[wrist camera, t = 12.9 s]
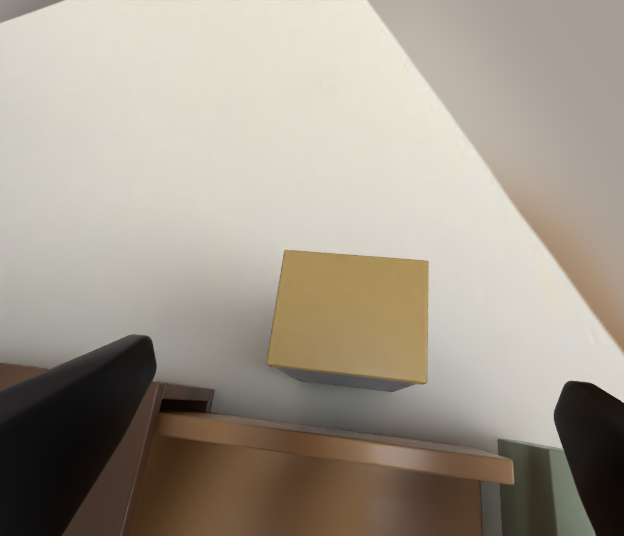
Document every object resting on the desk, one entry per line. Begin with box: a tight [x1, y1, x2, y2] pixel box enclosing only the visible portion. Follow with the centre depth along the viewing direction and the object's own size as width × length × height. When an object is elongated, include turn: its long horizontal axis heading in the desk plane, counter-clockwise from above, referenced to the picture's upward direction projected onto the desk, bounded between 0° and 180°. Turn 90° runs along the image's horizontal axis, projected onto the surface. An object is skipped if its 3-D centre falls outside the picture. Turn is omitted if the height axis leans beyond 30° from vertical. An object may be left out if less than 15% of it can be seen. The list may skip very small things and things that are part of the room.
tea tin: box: [267, 250, 428, 392], centre depth 16 cm, size 4×5×8 cm
